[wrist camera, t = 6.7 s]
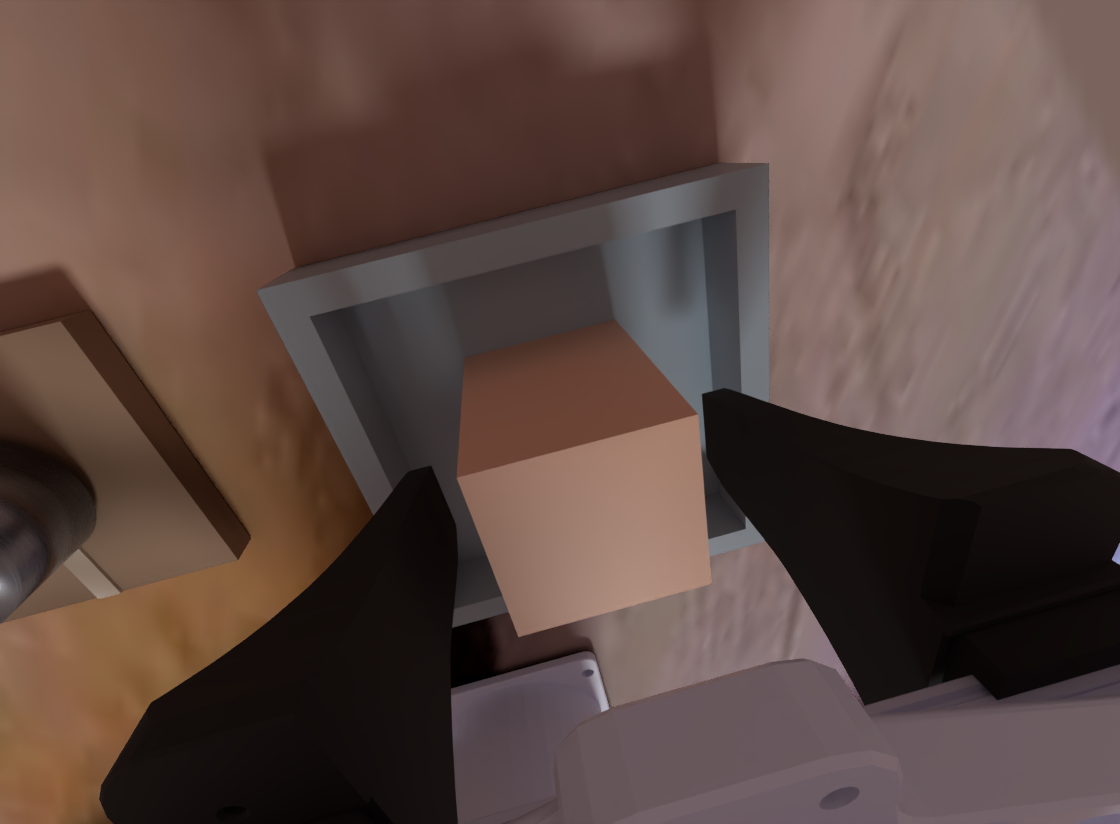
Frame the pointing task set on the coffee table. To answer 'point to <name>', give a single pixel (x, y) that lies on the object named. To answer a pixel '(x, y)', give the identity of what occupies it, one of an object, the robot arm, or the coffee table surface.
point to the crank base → (110, 463)
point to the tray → (533, 326)
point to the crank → (37, 521)
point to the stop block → (581, 476)
